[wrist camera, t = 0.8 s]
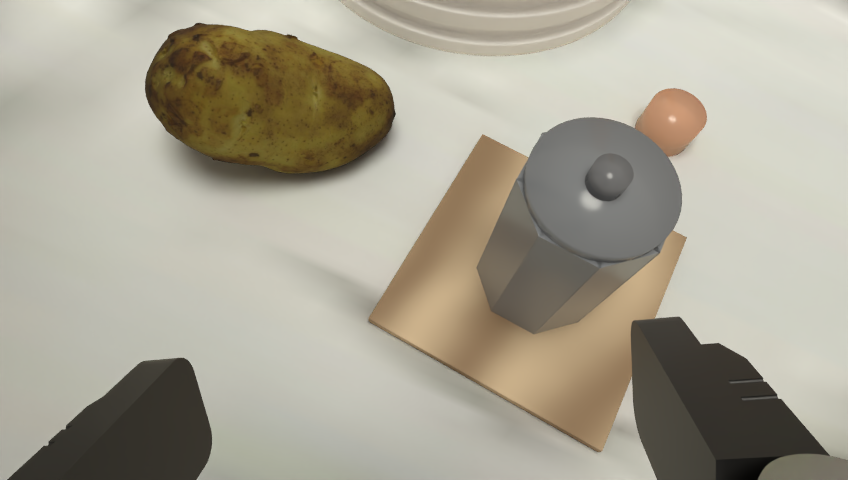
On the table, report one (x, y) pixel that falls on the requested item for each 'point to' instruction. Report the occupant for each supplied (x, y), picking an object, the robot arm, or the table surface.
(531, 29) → the plate stack
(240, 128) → the potato
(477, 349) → the mat
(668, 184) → the grey lidded canister
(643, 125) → the peach cylinder
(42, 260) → the table surface
